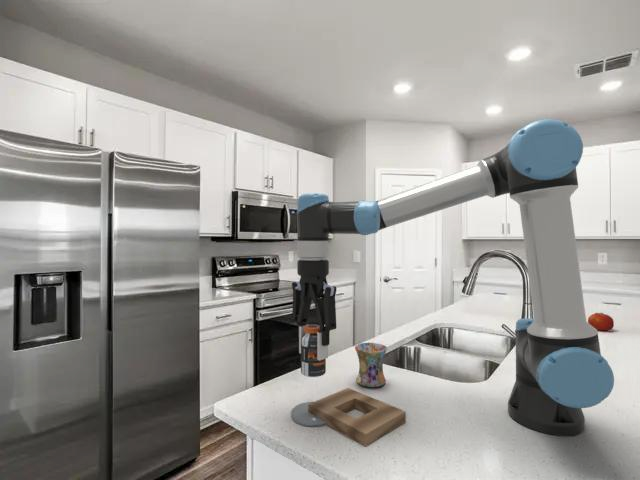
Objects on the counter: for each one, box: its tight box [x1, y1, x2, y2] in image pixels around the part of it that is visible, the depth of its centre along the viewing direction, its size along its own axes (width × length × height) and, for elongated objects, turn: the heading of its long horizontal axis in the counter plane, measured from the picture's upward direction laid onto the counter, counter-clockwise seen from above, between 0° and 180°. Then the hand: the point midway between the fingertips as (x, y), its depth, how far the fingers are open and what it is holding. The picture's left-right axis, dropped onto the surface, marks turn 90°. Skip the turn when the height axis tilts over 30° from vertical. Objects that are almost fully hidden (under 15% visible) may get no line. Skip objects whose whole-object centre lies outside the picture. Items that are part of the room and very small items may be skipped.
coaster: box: [290, 401, 328, 428], centre depth 86 cm, size 11×11×1 cm
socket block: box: [308, 387, 407, 447], centre depth 84 cm, size 18×14×2 cm
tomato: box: [587, 312, 615, 332], centre depth 163 cm, size 9×9×8 cm
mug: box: [354, 342, 388, 388], centre depth 106 cm, size 12×9×11 cm
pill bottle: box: [300, 324, 327, 378], centre depth 86 cm, size 6×6×11 cm
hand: (313, 355), depth 86 cm, fingers closed on pill bottle, 6 cm apart
